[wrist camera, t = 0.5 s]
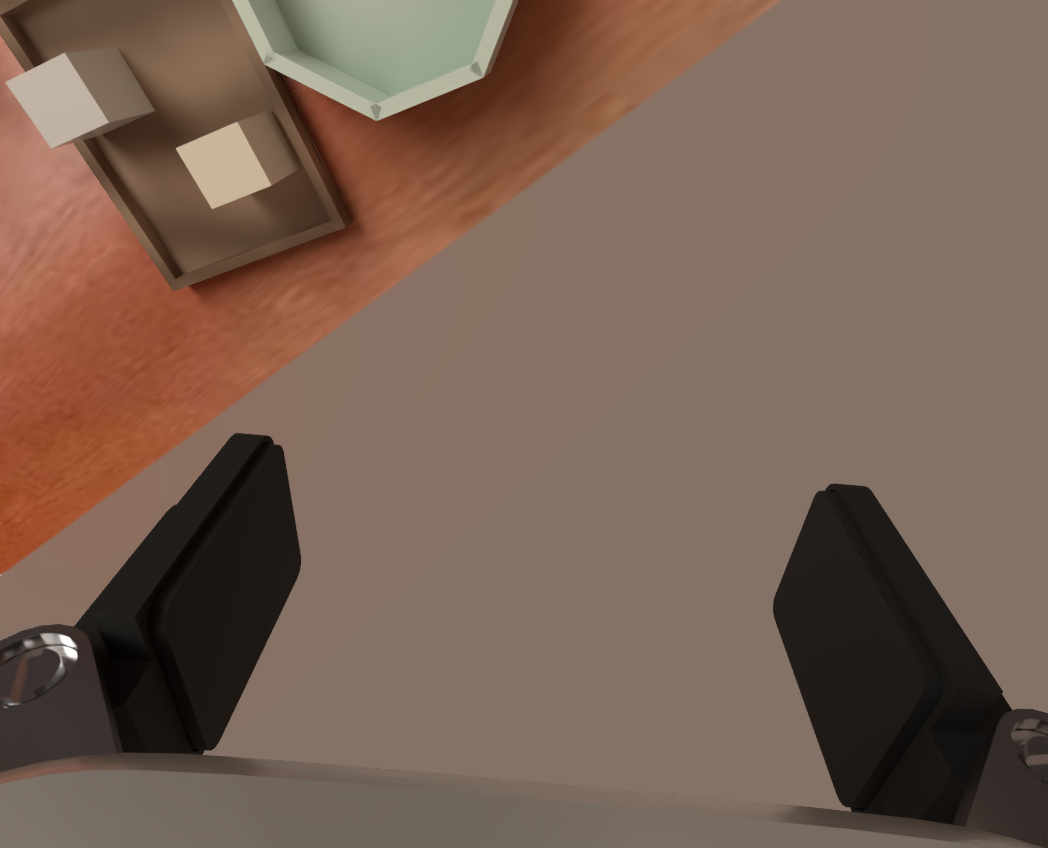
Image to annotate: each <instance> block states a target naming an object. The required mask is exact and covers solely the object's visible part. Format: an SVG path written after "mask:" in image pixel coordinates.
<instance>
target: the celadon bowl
mask: <svg viewBox="0 0 1048 848" xmlns="http://www.w3.org/2000/svg"><path fill="white" fill-rule="evenodd" d="M232 1H233V3H234V5H235V7H236V9H237V11H238V13H239V15H240V17H241V19H242V21H243V23H244V25H245V27H246V29H247V31H248V33H249V35H250V37H251V39H252V41H253V43H254V45H255V47H256V49H257V51H258V53H259V55H260V57H261V59H262V61H263V63H264V65H266V66H268V67H270V68H272V69H274V70H276V71H278V72H280V73H282V74H284V75H286V76H288V77H290V78H292V79H294V80H296V81H298V82H300V83H302V84H304V85H306V86H308V87H310V88H312V89H314V90H316V91H318V92H320V93H322V94H324V95H326V96H328V97H330V98H332V99H334V100H336V101H338V102H340V103H342V104H344V105H346V106H348V107H350V108H352V109H354V110H356V111H358V112H360V113H362V114H364V115H366V116H368V117H370V118H372V119H374V120H376V121H378V120H381V119H383V118H386V117H388V116H390V115H393V114H395V113H398V112H400V111H403V110H405V109H408V108H410V107H412V106H415V105H417V104H420V103H422V102H425V101H427V100H430V99H432V98H435V97H437V96H439V95H442V94H444V93H447V92H449V91H452V90H454V89H457V88H459V87H462V86H464V85H466V84H469V83H471V82H474V81H476V80H479V79H481V78H484V77H485V76H486V75H487V74H489V73H490V72H491V71H492V68H493V66H494V63H495V61H496V58H497V55H498V53H499V50H500V48H501V45H502V43H503V40H504V38H505V35H506V32H507V30H508V27H509V25H510V22H511V20H512V17H513V14H514V12H515V9H516V7H517V4H518V2H519V0H232Z"/></svg>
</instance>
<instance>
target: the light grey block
mask: <svg viewBox="0 0 1048 848" xmlns="http://www.w3.org/2000/svg"><path fill="white" fill-rule="evenodd" d="M5 83H6V84H7V86H8V87H9V88H10V90H11V91H12V93H13V94H14V96H15V97H16V98H17V100H18V101H19V103H20V104H21V106H22V107H23V109H24V110H25V111H26V113H27V114H28V116H29V117H30V119H31V120H32V122H33V123H34V124H35V126H36V127H37V129H38V130H39V132H40V133H41V134H42V136H43V137H44V139H45V140H46V142H47V143H48V145H49V146H50V147H51V149H52V148H56V147H60V146H63V145H67V144H71V143H74V142H78V141H82V140H85V139H89V138H93V137H96V136H100V135H103V134H105V133H108V132H110V131H112V130H114V129H116V128H119V127H121V126H123V125H125V124H127V123H130V122H132V121H134V120H136V119H138V118H141V117H143V116H145V115H147V114H150V113H152V112H154V111H155V110H154V108H153V107H152V105H151V103H150V102H149V100H148V98H147V97H146V95H145V93H144V91H143V90H142V88H141V86H140V85H139V83H138V81H137V80H136V78H135V76H134V75H133V73H132V71H131V70H130V68H129V66H128V65H127V63H126V61H125V60H124V58H123V56H122V55H121V53H120V51H119V50H118V48H112V49H101V50H90V51H79V52H67V53H63V54H61V55H59V56H57V57H55V58H53V59H51V60H49V61H47V62H45V63H43V64H41V65H39V66H37V67H35V68H33V69H31V70H29V71H27V72H25V73H23V74H21V75H19V76H17V77H15V78H13V79H11V80H9V81H7V82H5Z"/></svg>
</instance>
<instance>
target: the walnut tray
mask: <svg viewBox="0 0 1048 848" xmlns="http://www.w3.org/2000/svg"><path fill="white" fill-rule="evenodd" d="M0 35H1V37H2V38H3V39H4V41H5V42H6V44H7V45H8V47H9V48H10V50H11V51H12V53H13V54H14V56H15V57H16V59H17V60H18V62H19V63H20V65H21V66H22V68H23V69H24V71H25V72H27V71H29V70H31V69H33V68H35V67H37V66H39V65H41V64H43V63H45V62H47V61H49V60H51V59H53V58H55V57H57V56H59V55H61V54H63V53H67V52H79V51H90V50H101V49H112V48H118V50H119V51H120V53H121V55H122V56H123V58H124V60H125V61H126V63H127V65H128V66H129V68H130V70H131V71H132V73H133V75H134V76H135V78H136V80H137V81H138V83H139V85H140V86H141V88H142V90H143V91H144V93H145V95H146V97H147V98H148V100H149V102H150V103H151V105H152V107H153V108H154V110H155V111H154V112H152V113H150V114H147V115H145V116H143V117H141V118H138V119H136V120H134V121H132V122H130V123H127V124H125V125H123V126H121V127H119V128H116V129H114V130H112V131H110V132H108V133H105V134H103V135H100V136H96V137H93V138H89V139H85V140H82V141H78V142H74V145H75V146H76V148H77V149H78V151H79V152H80V154H81V155H82V157H83V158H84V160H85V161H86V162H87V164H88V165H89V167H90V168H91V170H92V171H93V173H94V174H95V176H96V177H97V179H98V180H99V182H100V183H101V185H102V186H103V188H104V189H105V191H106V192H107V194H108V195H109V197H110V198H111V200H112V201H113V203H114V204H115V205H116V207H117V208H118V210H119V211H120V213H121V214H122V216H123V217H124V219H125V220H126V222H127V223H128V225H129V226H130V228H131V229H132V231H133V232H134V234H135V235H136V237H137V238H138V240H139V241H140V243H141V244H142V245H143V247H144V248H145V250H146V251H147V253H148V254H149V256H150V257H151V259H152V260H153V262H154V263H155V265H156V266H157V268H158V269H159V271H160V272H161V274H162V275H163V277H164V278H165V280H166V281H167V283H168V284H169V285H170V287H171V288H172V290H173V291H175V290H178V289H181V288H183V287H186V286H189V285H192V284H194V283H197V282H200V281H202V280H205V279H208V278H211V277H213V276H216V275H219V274H221V273H224V272H227V271H230V270H232V269H235V268H238V267H240V266H243V265H246V264H248V263H251V262H254V261H257V260H259V259H262V258H265V257H267V256H270V255H273V254H276V253H278V252H281V251H284V250H286V249H289V248H292V247H295V246H297V245H300V244H303V243H305V242H308V241H311V240H313V239H316V238H319V237H322V236H324V235H327V234H330V233H332V232H335V231H338V230H341V229H343V228H346V227H347V226H348V225H349V224H350V223H351V222H352V219H351V217H350V214H349V212H348V210H347V208H346V206H345V204H344V202H343V200H342V198H341V196H340V194H339V192H338V190H337V188H336V186H335V184H334V182H333V180H332V178H331V176H330V174H329V172H328V170H327V168H326V166H325V164H324V161H323V159H322V157H321V155H320V153H319V151H318V149H317V147H316V145H315V143H314V141H313V139H312V137H311V135H310V133H309V131H308V129H307V127H306V125H305V123H304V121H303V119H302V117H301V115H300V113H299V111H298V108H297V106H296V104H295V102H294V100H293V98H292V96H291V94H290V92H289V90H288V88H287V86H286V84H285V82H284V80H283V78H282V76H281V74H280V72H278V71H276V70H274V69H272V68H270V67H268V66H266V65H264V63H263V61H262V59H261V57H260V55H259V53H258V51H257V49H256V47H255V45H254V43H253V41H252V39H251V37H250V35H249V33H248V31H247V29H246V27H245V25H244V23H243V21H242V19H241V17H240V15H239V13H238V11H237V9H236V7H235V5H234V3H233V1H232V0H0ZM270 110H271V112H272V114H273V116H274V117H275V119H276V121H277V123H278V125H279V127H280V129H281V131H282V133H283V135H284V137H285V139H286V141H287V143H288V145H289V147H290V149H291V151H292V153H293V155H294V157H295V159H296V161H297V162H298V164H299V166H300V169H298V170H297V171H295V172H293V173H292V174H290V175H288V176H287V177H285V178H283V179H282V180H280V181H278V182H277V183H275V184H273V185H272V186H269V187H267V188H264V189H262V190H259V191H257V192H254V193H252V194H249V195H247V196H244V197H242V198H239V199H237V200H234V201H231V202H229V203H226V204H224V205H221V206H219V207H216V208H214V209H212V208H211V207H210V205H209V203H208V202H207V200H206V198H205V197H204V195H203V193H202V192H201V190H200V188H199V187H198V185H197V183H196V182H195V180H194V178H193V177H192V175H191V173H190V172H189V170H188V168H187V167H186V165H185V163H184V162H183V160H182V158H181V157H180V155H179V153H178V152H177V150H176V148H177V147H180V146H182V145H184V144H187V143H189V142H191V141H194V140H196V139H198V138H200V137H203V136H205V135H207V134H210V133H212V132H214V131H217V130H219V129H221V128H224V127H226V126H228V125H231V124H233V123H235V122H238V121H241V120H243V119H246V118H249V117H252V116H255V115H258V114H261V113H264V112H267V111H270Z"/></svg>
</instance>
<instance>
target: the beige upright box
mask: <svg viewBox="0 0 1048 848" xmlns="http://www.w3.org/2000/svg"><path fill="white" fill-rule="evenodd" d="M176 150H177V152H178V153H179V155H180V157H181V158H182V160H183V162H184V163H185V165H186V167H187V168H188V170H189V172H190V173H191V175H192V177H193V178H194V180H195V182H196V183H197V185H198V187H199V188H200V190H201V192H202V193H203V195H204V197H205V198H206V200H207V202H208V203H209V205H210V207H211V208H212V209H214V208H216V207H219V206H221V205H224V204H226V203H229V202H231V201H234V200H237V199H239V198H242V197H244V196H247V195H249V194H252V193H254V192H257V191H259V190H262V189H264V188H267V187H269V186H272V185H273V184H275V183H277V182H278V181H280V180H282V179H283V178H285V177H287V176H288V175H290V174H292V173H293V172H295V171H297V170H298V169H300V166H299V164H298V162H297V161H296V159H295V157H294V155H293V153H292V151H291V149H290V147H289V145H288V143H287V141H286V139H285V137H284V135H283V133H282V131H281V129H280V127H279V125H278V123H277V121H276V119H275V117H274V116H273V114H272V112H271V110H270V111H267V112H264V113H261V114H258V115H255V116H252V117H249V118H246V119H243V120H241V121H238V122H235V123H233V124H231V125H228V126H226V127H224V128H221V129H219V130H217V131H214V132H212V133H210V134H207V135H205V136H203V137H200V138H198V139H196V140H194V141H191V142H189V143H187V144H184V145H182V146H180V147H177V148H176Z"/></svg>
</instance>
